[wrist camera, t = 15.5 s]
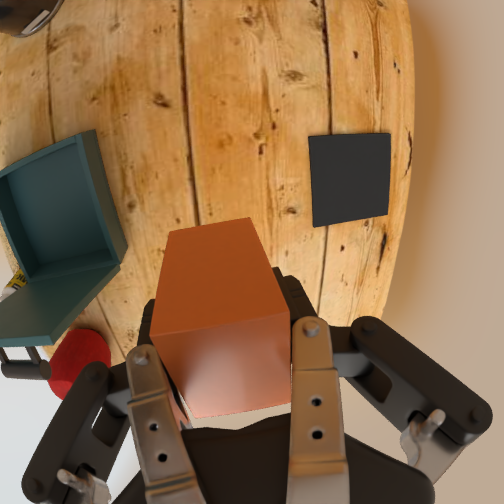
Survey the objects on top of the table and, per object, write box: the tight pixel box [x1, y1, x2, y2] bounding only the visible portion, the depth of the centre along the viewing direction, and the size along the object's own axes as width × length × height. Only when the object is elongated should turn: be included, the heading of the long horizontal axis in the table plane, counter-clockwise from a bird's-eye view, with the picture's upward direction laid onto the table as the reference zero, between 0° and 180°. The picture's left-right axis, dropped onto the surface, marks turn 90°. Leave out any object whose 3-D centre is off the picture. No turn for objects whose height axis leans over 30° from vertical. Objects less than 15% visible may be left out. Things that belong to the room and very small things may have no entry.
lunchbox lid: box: [0, 264, 121, 380], centre depth 22 cm, size 16×16×5 cm
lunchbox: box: [0, 129, 128, 283], centre depth 27 cm, size 16×16×4 cm
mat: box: [308, 133, 391, 228], centre depth 34 cm, size 12×12×1 cm
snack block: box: [149, 217, 291, 418], centre depth 12 cm, size 5×4×7 cm
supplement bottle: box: [0, 268, 28, 302], centre depth 29 cm, size 5×5×8 cm
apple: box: [47, 329, 111, 400], centre depth 34 cm, size 10×10×14 cm
